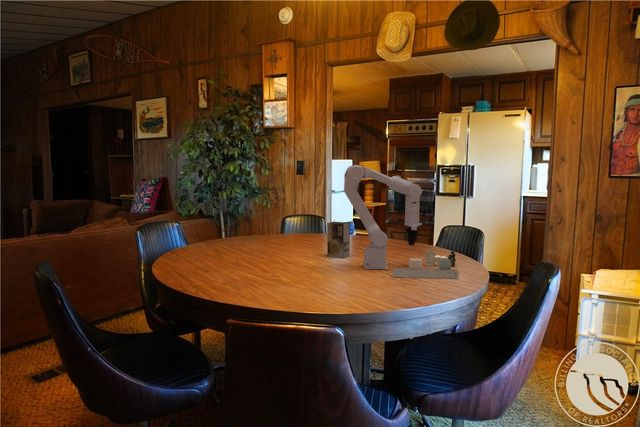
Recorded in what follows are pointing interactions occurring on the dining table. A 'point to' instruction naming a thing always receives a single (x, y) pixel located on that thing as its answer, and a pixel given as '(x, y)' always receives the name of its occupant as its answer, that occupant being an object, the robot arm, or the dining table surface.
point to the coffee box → (338, 239)
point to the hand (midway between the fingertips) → (411, 245)
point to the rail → (429, 271)
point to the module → (415, 263)
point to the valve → (431, 258)
